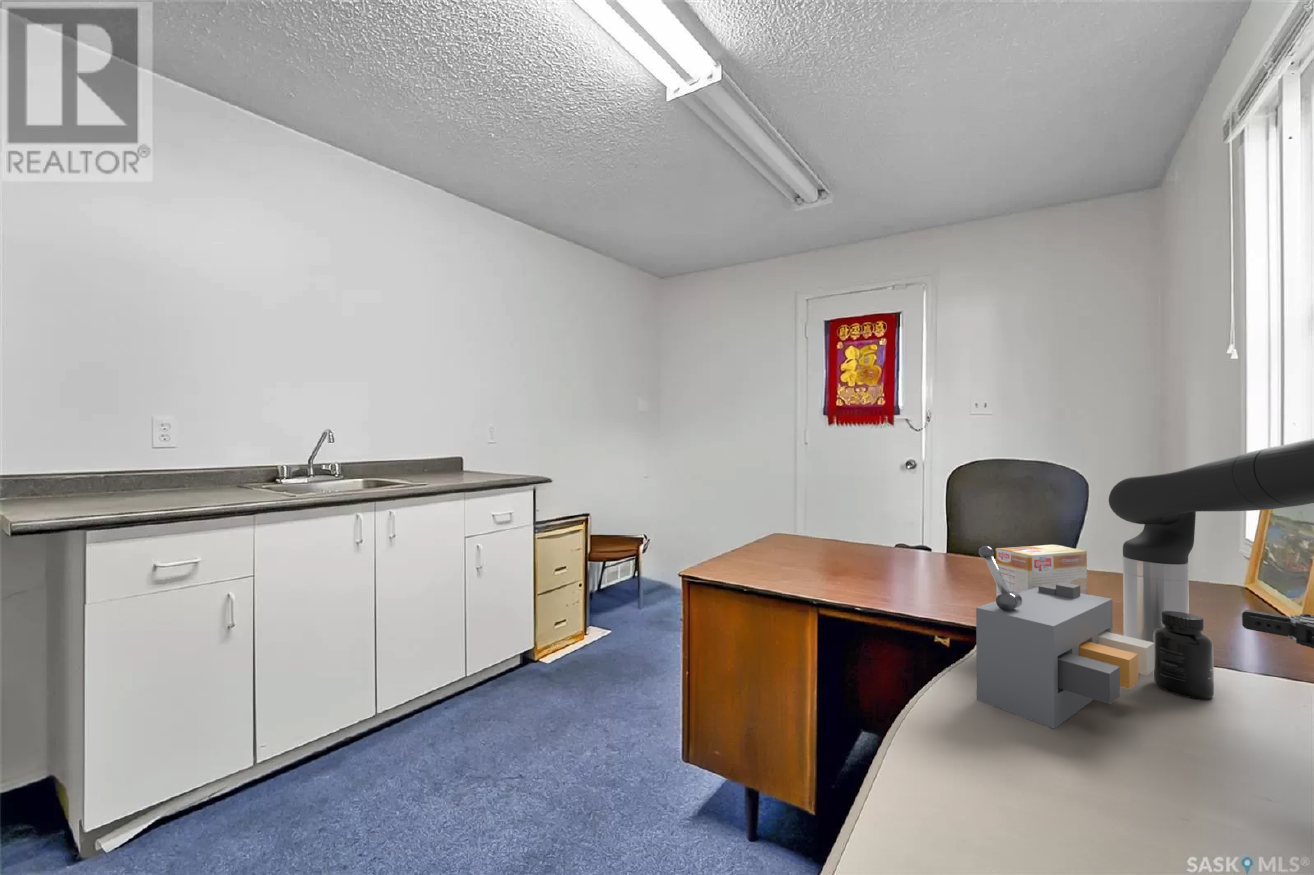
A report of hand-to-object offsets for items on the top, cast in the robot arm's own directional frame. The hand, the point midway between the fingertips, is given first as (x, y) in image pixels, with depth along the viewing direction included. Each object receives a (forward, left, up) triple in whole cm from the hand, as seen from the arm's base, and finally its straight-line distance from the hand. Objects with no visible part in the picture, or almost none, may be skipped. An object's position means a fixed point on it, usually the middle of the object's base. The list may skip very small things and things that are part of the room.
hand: (1243, 618), depth 67 cm
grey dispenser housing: (-2, -21, -17) cm, 27 cm away
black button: (+7, -16, -12) cm, 21 cm away
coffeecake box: (-22, -25, -17) cm, 37 cm away
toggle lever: (+6, -23, -3) cm, 24 cm away
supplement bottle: (-19, -6, -17) cm, 26 cm away
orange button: (-1, -14, -12) cm, 19 cm away
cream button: (-9, -13, -12) cm, 20 cm away
